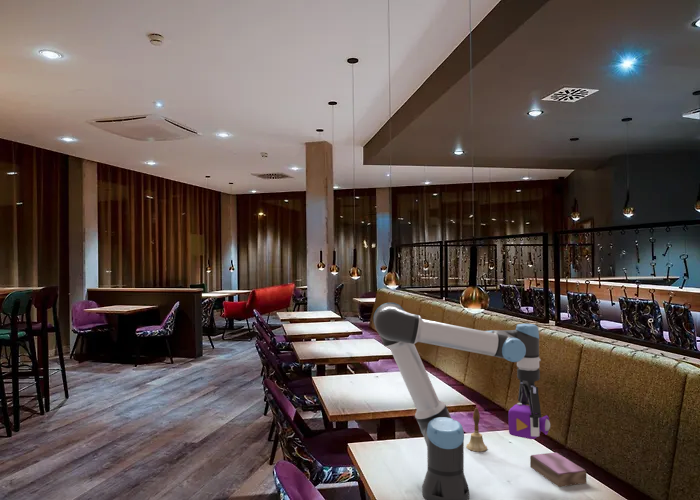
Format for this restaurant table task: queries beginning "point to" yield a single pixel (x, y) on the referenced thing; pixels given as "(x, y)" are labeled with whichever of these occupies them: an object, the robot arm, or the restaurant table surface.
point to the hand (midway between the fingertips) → (529, 429)
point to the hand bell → (476, 436)
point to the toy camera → (525, 422)
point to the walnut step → (558, 469)
